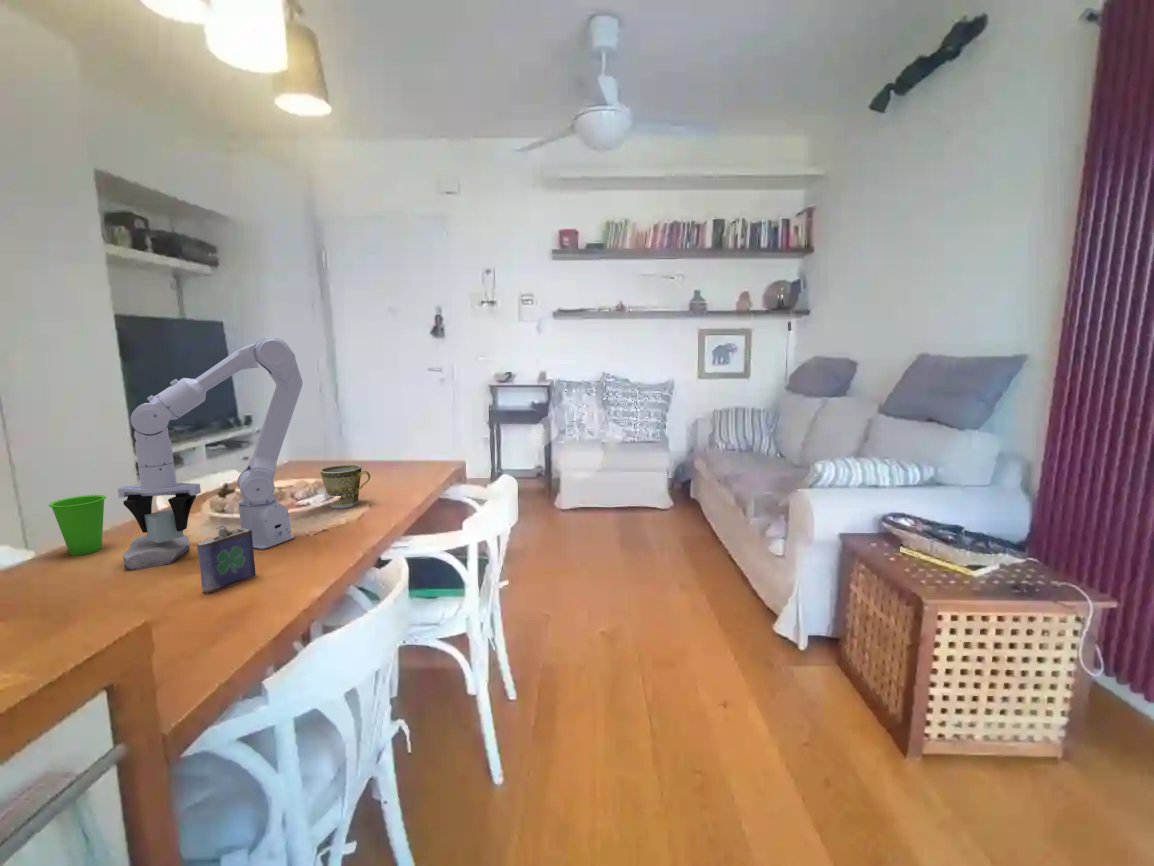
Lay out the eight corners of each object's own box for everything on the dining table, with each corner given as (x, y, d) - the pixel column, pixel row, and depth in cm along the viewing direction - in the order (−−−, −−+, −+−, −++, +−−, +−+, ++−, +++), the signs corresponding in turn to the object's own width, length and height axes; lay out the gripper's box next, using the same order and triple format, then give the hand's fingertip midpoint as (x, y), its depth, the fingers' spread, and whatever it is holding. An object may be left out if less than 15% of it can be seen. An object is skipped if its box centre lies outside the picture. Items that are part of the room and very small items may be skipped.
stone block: (190, 553, 124) (133, 552, 120) (193, 531, 124) (135, 530, 119) (182, 574, 114) (119, 574, 109) (185, 551, 114) (121, 550, 109)
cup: (110, 540, 128) (103, 492, 126) (115, 550, 121) (108, 499, 119) (56, 551, 121) (47, 500, 120) (58, 562, 115) (50, 509, 113)
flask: (207, 595, 99) (200, 534, 97) (198, 591, 100) (190, 532, 98) (259, 576, 107) (253, 520, 105) (249, 573, 108) (243, 517, 106)
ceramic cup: (315, 510, 149) (312, 472, 147) (337, 499, 158) (334, 464, 157) (362, 511, 146) (359, 473, 145) (381, 501, 156) (378, 464, 155)
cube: (183, 536, 117) (180, 512, 116) (158, 543, 113) (155, 518, 112) (172, 532, 119) (169, 509, 118) (147, 539, 115) (144, 514, 114)
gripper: (206, 458, 118) (213, 522, 120) (132, 461, 117) (141, 525, 119) (184, 466, 111) (193, 534, 113) (106, 468, 110) (116, 536, 112)
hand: (165, 530), depth 116 cm, fingers closed on cube, 6 cm apart
